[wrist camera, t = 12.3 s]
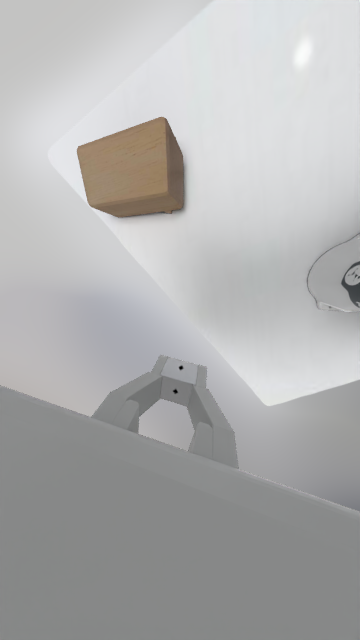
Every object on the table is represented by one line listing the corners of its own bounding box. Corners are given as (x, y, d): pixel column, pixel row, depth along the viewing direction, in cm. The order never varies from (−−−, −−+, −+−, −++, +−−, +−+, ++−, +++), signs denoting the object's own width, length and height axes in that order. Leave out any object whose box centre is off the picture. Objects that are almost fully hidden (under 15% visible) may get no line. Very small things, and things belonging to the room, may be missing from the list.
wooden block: (184, 153, 30) (110, 172, 36) (165, 110, 22) (72, 144, 28) (184, 209, 34) (118, 218, 40) (168, 192, 25) (86, 207, 31)
